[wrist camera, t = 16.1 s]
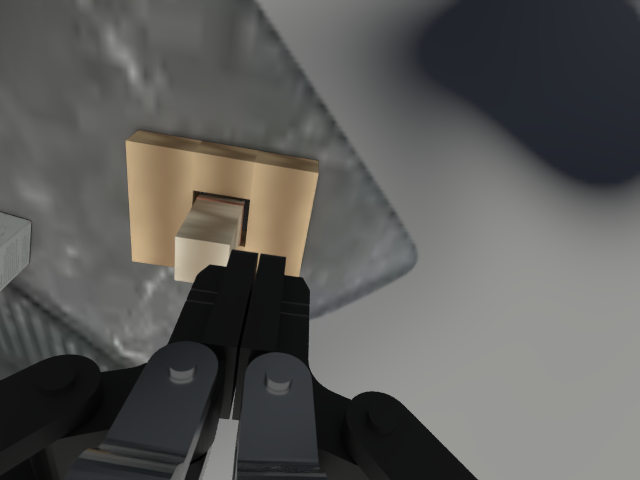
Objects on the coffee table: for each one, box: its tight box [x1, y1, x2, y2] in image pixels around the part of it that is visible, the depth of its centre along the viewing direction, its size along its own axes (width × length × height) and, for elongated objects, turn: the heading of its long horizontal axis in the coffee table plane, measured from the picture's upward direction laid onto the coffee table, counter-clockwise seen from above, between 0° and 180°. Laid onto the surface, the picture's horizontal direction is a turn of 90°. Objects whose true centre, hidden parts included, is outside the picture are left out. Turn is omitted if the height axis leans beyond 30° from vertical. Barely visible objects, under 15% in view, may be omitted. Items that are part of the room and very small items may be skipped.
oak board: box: [126, 130, 319, 277], centre depth 39 cm, size 16×12×3 cm
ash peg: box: [175, 193, 245, 283], centre depth 36 cm, size 4×4×10 cm
